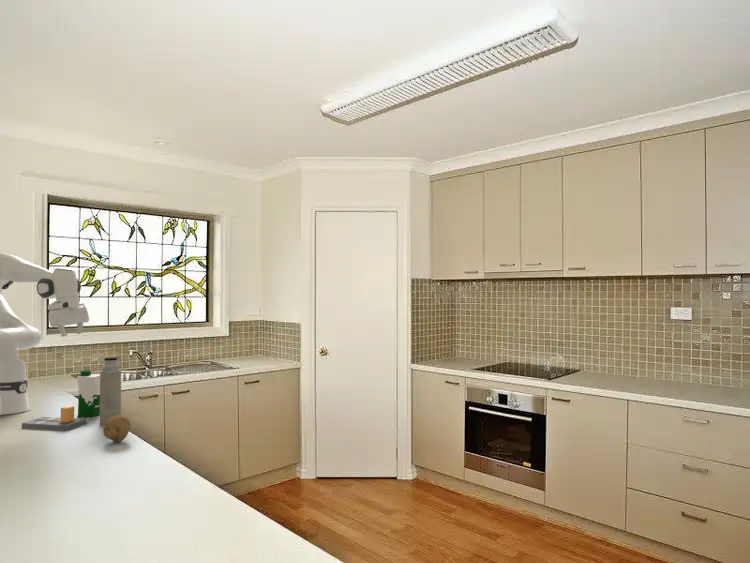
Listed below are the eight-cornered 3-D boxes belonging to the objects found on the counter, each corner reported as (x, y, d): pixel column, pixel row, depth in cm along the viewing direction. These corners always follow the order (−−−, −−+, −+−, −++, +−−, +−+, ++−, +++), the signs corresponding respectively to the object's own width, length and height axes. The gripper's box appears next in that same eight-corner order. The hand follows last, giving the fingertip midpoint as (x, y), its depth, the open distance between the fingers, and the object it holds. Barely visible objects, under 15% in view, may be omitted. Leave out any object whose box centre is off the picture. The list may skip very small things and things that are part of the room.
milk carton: (85, 412, 240) (86, 369, 241) (105, 413, 240) (105, 369, 240) (74, 417, 231) (74, 372, 232) (94, 417, 231) (94, 372, 232)
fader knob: (58, 422, 214) (58, 408, 214) (67, 419, 219) (67, 405, 219) (67, 422, 213) (67, 408, 214) (76, 419, 218) (76, 406, 218)
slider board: (21, 428, 214) (21, 422, 214) (43, 421, 224) (43, 416, 225) (67, 430, 210) (67, 425, 210) (86, 423, 221) (86, 418, 221)
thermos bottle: (107, 421, 225) (107, 356, 225) (124, 421, 224) (125, 356, 225) (95, 426, 217) (96, 358, 218) (113, 426, 216) (114, 358, 217)
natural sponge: (119, 447, 188) (119, 419, 188) (97, 445, 190) (97, 418, 190) (135, 440, 197) (135, 413, 197) (114, 438, 199) (114, 412, 199)
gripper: (78, 303, 242) (81, 332, 242) (44, 306, 222) (48, 338, 222) (90, 301, 241) (94, 331, 241) (57, 304, 221) (61, 337, 221)
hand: (71, 335), depth 231 cm, fingers open, 8 cm apart
